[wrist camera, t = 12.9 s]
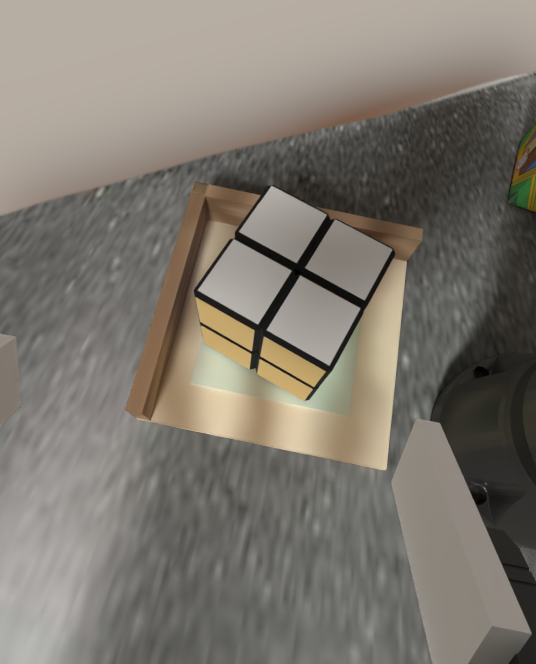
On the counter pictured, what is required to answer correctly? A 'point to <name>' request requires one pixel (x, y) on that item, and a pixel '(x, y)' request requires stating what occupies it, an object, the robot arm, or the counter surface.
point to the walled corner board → (246, 385)
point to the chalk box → (525, 174)
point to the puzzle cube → (289, 291)
